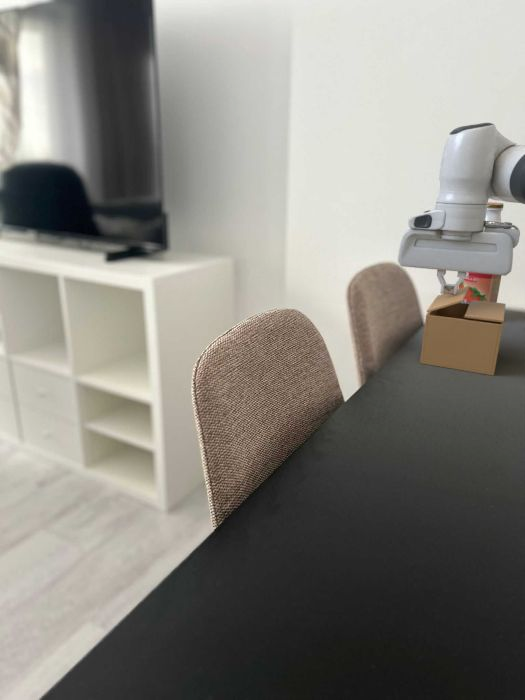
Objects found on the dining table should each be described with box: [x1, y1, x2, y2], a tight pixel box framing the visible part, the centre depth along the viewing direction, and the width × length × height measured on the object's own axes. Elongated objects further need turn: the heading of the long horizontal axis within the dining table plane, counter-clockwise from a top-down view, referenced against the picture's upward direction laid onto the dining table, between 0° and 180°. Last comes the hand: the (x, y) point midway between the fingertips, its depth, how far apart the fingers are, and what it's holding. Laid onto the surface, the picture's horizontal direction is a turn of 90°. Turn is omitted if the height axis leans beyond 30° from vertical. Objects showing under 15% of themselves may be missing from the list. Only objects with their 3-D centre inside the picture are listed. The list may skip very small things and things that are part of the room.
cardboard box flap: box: [426, 286, 469, 314], centre depth 98 cm, size 14×6×1 cm, turn 154°
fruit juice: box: [458, 201, 504, 303], centre depth 126 cm, size 9×9×28 cm
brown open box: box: [419, 300, 506, 377], centre depth 99 cm, size 14×13×10 cm
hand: (448, 293), depth 98 cm, fingers closed
